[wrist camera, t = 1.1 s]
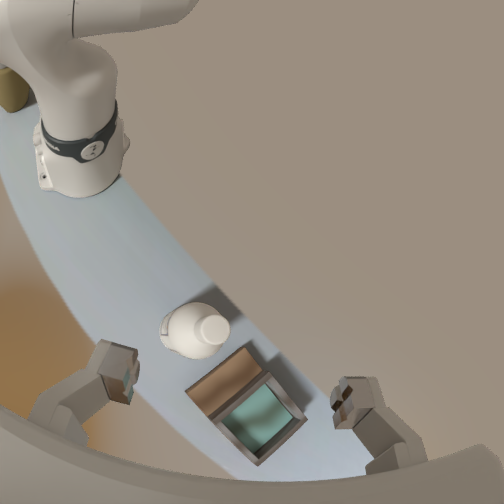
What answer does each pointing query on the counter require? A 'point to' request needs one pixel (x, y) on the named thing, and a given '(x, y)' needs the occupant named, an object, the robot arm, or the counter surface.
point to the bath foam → (194, 330)
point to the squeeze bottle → (12, 89)
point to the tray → (247, 406)
